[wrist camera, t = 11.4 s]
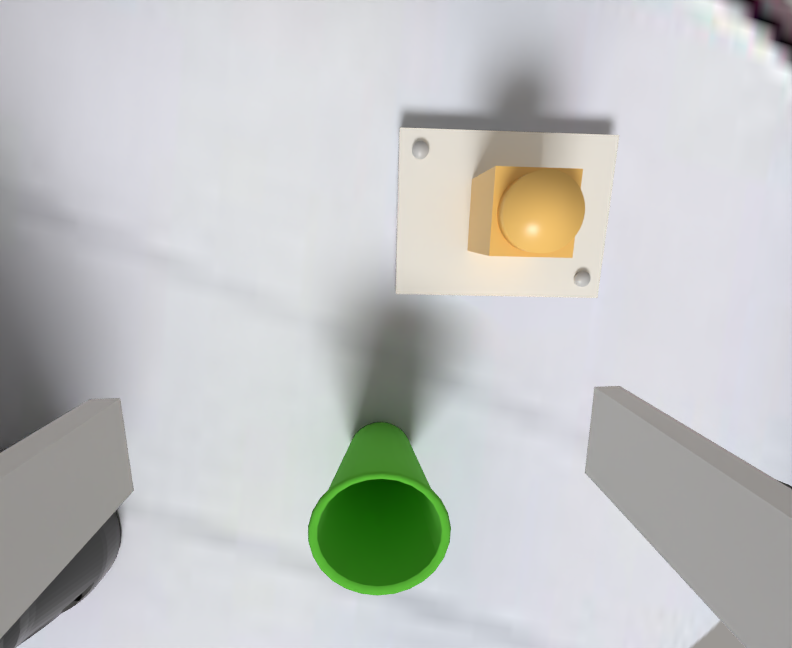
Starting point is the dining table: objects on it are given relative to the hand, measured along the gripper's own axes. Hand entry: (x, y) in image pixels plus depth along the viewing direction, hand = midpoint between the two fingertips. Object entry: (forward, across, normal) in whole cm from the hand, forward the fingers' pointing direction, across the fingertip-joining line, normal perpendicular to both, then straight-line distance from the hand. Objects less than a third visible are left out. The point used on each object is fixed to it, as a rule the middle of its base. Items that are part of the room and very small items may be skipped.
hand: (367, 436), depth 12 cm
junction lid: (+22, +10, +7) cm, 25 cm away
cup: (+23, +1, -13) cm, 26 cm away
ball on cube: (+21, +10, +7) cm, 24 cm away
